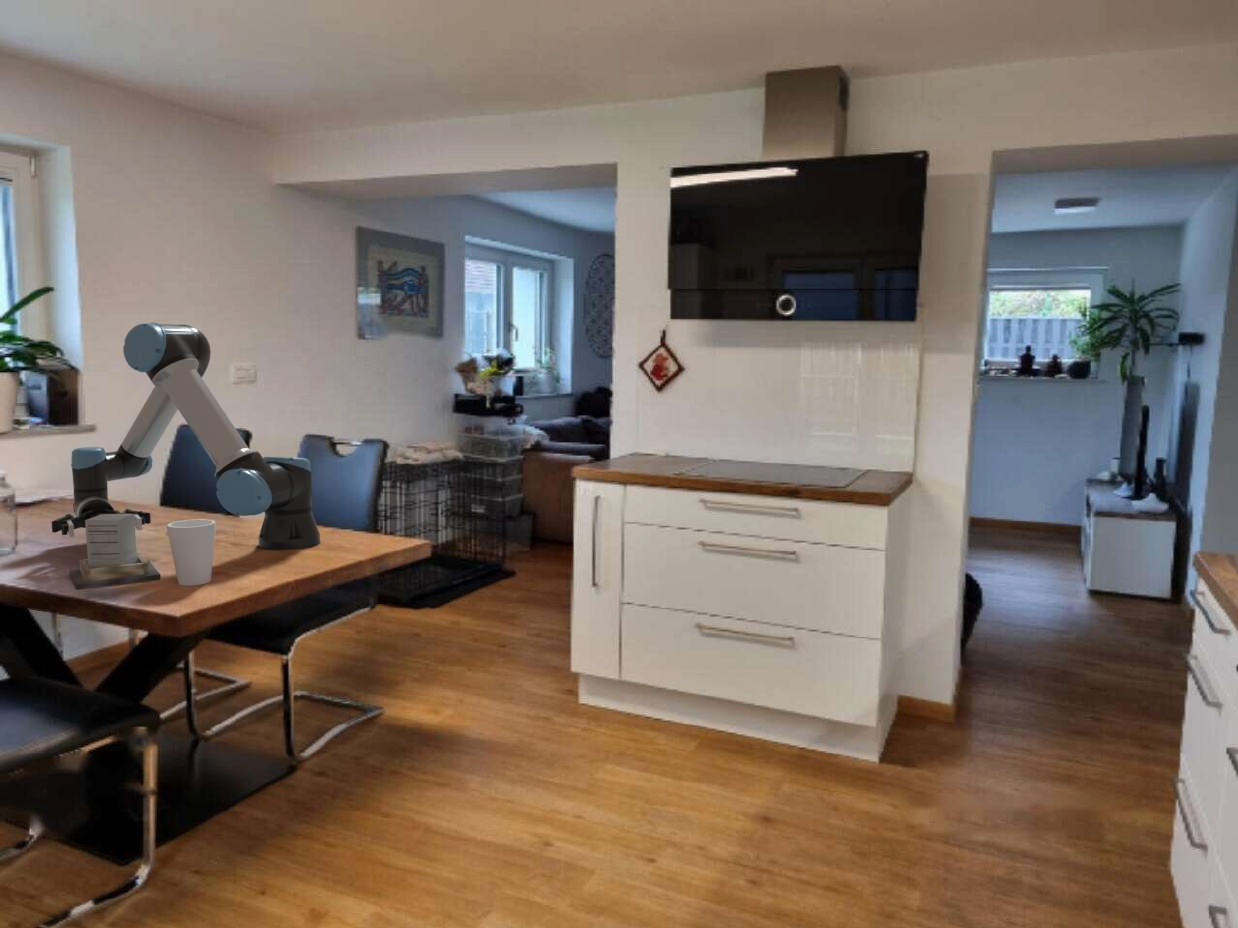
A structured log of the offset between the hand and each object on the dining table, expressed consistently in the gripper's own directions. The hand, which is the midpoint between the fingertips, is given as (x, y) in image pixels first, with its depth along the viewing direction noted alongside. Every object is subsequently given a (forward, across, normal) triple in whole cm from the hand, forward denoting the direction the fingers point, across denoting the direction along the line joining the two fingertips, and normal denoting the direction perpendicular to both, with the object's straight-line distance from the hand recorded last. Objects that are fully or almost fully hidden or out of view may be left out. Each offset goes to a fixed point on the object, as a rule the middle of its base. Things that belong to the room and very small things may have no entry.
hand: (106, 527), depth 199 cm
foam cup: (+24, -14, -10) cm, 29 cm away
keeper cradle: (+10, 0, -10) cm, 13 cm away
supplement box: (+9, 0, -9) cm, 13 cm away
